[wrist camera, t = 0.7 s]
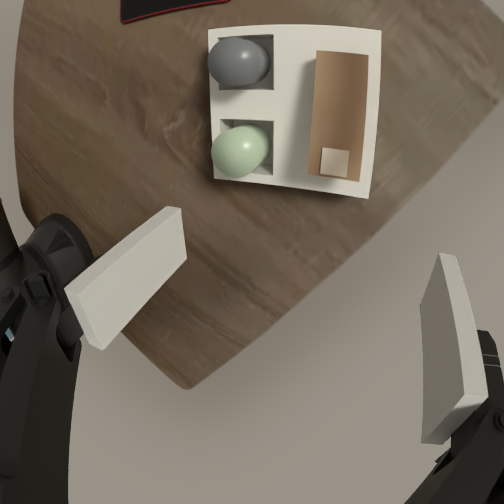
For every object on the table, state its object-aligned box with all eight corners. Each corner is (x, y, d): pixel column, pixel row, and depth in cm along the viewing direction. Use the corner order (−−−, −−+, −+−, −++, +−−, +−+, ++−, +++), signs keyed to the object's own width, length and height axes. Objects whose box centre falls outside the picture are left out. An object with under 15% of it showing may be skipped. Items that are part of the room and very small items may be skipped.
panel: (230, 167, 34) (208, 182, 30) (226, 33, 26) (201, 28, 22) (368, 184, 30) (368, 204, 26) (379, 37, 22) (381, 28, 18)
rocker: (310, 173, 25) (306, 174, 23) (319, 55, 21) (316, 49, 20) (359, 180, 23) (359, 182, 22) (368, 60, 20) (368, 54, 19)
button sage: (230, 163, 31) (212, 175, 28) (228, 122, 28) (209, 129, 25) (270, 167, 29) (257, 180, 26) (271, 124, 27) (257, 131, 24)
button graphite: (227, 84, 26) (208, 86, 23) (226, 42, 24) (206, 39, 21) (271, 84, 25) (256, 85, 22) (271, 40, 23) (255, 35, 20)
